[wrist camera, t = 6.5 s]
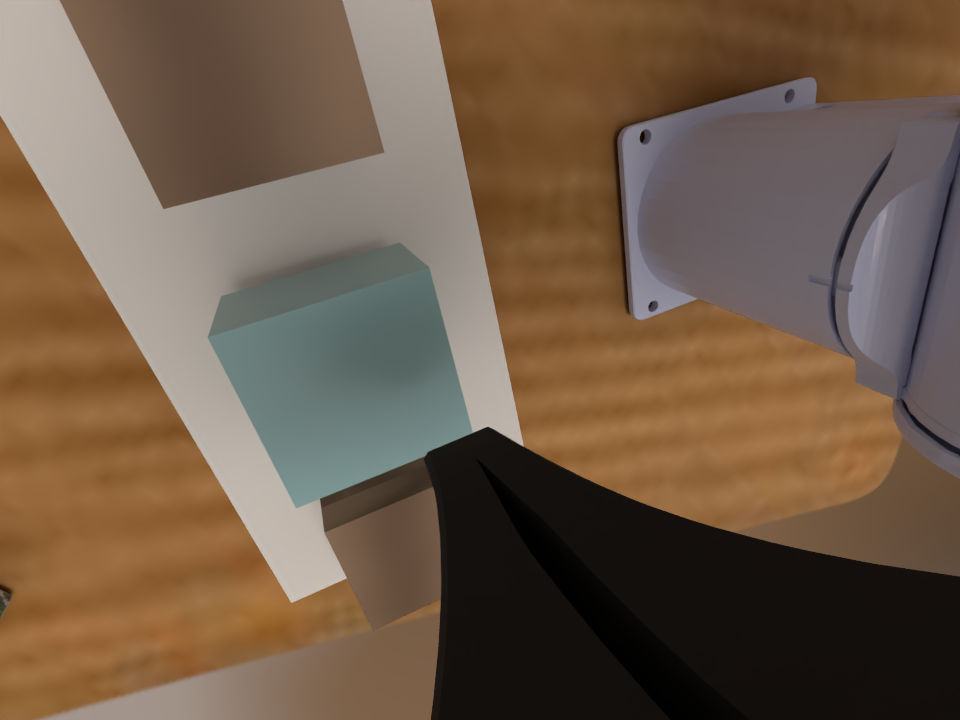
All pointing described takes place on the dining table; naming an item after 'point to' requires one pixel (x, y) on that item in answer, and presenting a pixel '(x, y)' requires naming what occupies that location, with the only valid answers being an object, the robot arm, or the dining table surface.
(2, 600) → the syrup box
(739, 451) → the dining table surface
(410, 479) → the far walnut button
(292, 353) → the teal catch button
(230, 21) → the brown ledged cube
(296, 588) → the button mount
